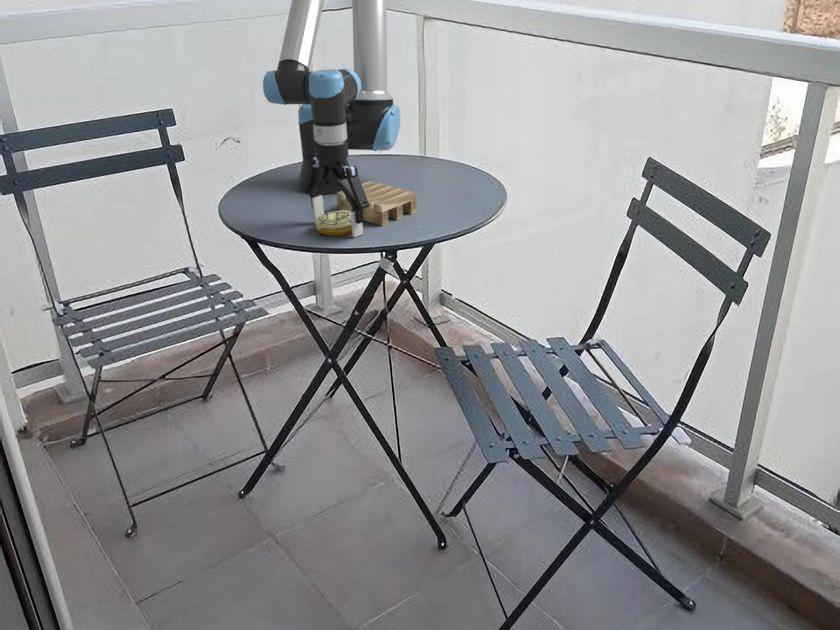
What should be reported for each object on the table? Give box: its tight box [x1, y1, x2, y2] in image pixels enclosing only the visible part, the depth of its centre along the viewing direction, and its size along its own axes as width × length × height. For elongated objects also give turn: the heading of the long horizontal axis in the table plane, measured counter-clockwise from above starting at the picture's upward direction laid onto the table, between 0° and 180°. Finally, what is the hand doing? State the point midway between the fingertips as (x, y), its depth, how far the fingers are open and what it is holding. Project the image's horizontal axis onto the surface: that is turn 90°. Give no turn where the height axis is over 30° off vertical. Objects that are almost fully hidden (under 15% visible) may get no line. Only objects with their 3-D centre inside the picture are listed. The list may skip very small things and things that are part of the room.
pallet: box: [336, 180, 418, 227], centre depth 203 cm, size 16×12×5 cm
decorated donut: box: [314, 210, 352, 237], centre depth 194 cm, size 10×11×4 cm
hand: (338, 229), depth 195 cm, fingers open, 13 cm apart
